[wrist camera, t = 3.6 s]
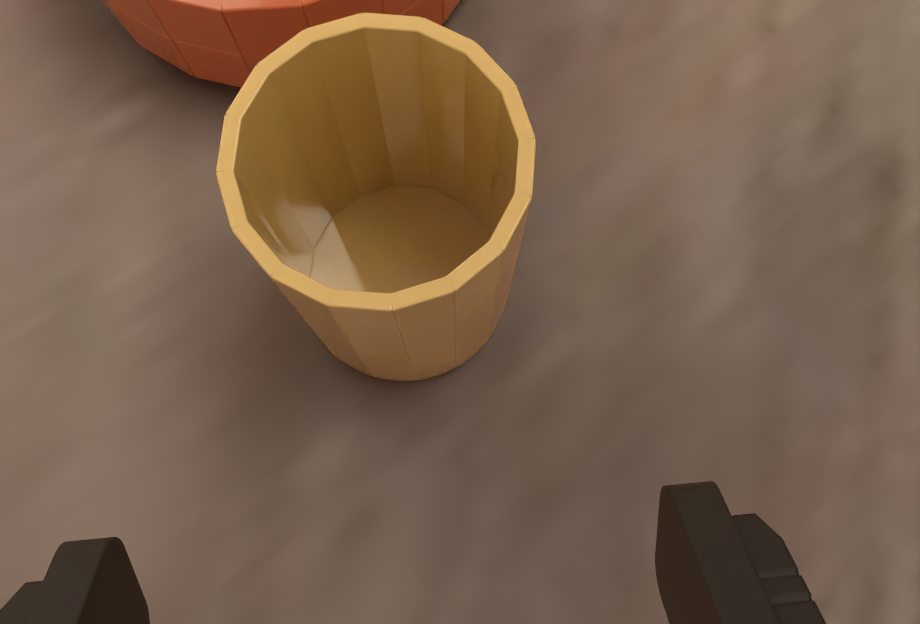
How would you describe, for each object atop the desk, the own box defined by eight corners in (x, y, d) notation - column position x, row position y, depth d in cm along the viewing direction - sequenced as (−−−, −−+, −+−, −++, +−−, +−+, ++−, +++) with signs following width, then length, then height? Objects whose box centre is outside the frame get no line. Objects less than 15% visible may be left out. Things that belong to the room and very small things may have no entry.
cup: (419, 145, 26) (398, -42, 17) (550, 291, 25) (600, 172, 16) (261, 268, 26) (155, 137, 17) (391, 424, 25) (351, 376, 16)
